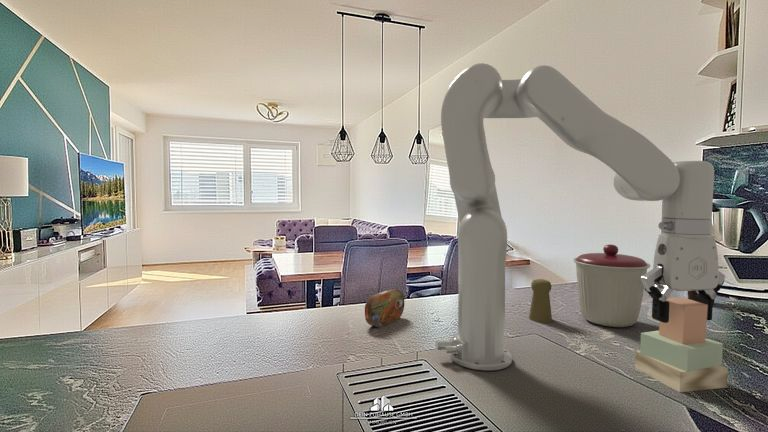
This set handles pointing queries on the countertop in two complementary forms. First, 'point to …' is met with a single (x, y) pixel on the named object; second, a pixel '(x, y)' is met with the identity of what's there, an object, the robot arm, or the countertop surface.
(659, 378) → the bottom block
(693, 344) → the top block
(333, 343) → the countertop surface
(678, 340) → the terracotta block
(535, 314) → the cork
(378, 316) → the tin
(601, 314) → the canister
